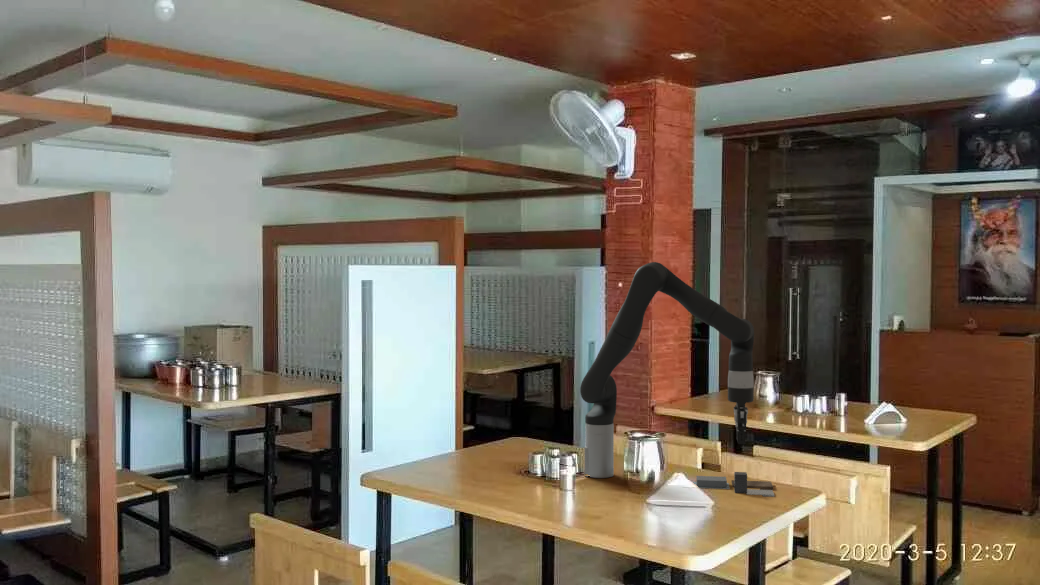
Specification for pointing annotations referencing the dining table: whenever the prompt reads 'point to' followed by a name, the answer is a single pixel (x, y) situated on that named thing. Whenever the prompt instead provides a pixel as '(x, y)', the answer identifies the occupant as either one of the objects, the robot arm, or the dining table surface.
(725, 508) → the dining table surface
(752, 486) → the rest board
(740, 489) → the turner
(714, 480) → the tile
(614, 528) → the dining table surface
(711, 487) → the mat
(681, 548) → the dining table surface
